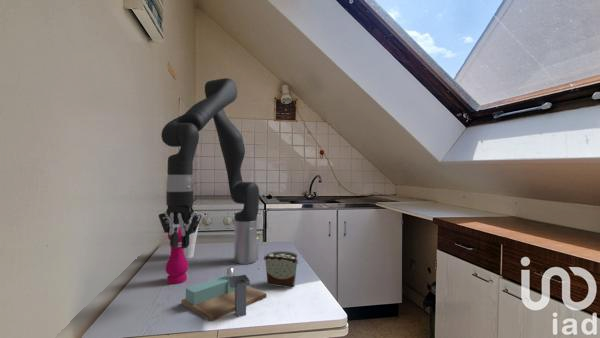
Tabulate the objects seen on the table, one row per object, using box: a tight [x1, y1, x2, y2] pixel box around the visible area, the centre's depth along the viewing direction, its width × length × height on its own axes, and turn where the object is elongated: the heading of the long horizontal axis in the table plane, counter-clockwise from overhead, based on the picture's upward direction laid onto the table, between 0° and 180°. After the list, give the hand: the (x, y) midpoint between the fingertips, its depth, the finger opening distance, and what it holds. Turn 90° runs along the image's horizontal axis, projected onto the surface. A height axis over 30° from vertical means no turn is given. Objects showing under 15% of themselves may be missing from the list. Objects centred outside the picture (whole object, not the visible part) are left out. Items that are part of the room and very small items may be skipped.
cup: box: [184, 213, 200, 259], centre depth 132 cm, size 11×11×18 cm
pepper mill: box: [165, 226, 189, 285], centre depth 103 cm, size 7×7×20 cm
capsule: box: [226, 267, 234, 280], centre depth 93 cm, size 2×2×8 cm
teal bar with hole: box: [185, 273, 239, 305], centre depth 89 cm, size 16×5×4 cm, turn 139°
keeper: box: [228, 274, 251, 317], centre depth 81 cm, size 6×5×8 cm
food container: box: [263, 250, 300, 288], centre depth 102 cm, size 12×6×10 cm, turn 71°
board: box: [180, 285, 267, 322], centre depth 88 cm, size 19×15×1 cm
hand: (179, 247), depth 89 cm, fingers open, 3 cm apart
